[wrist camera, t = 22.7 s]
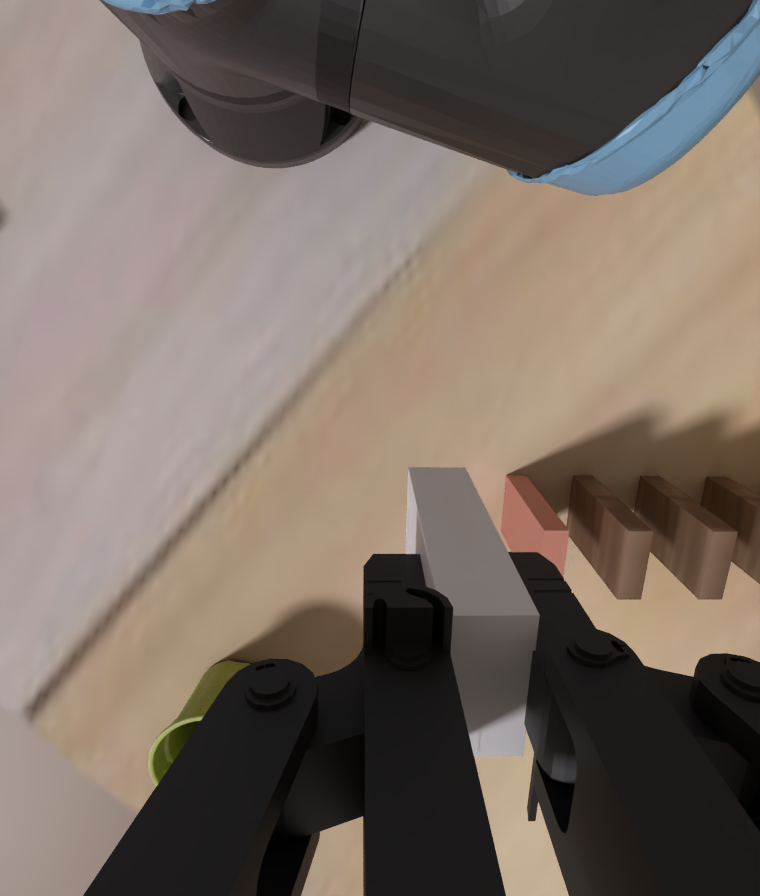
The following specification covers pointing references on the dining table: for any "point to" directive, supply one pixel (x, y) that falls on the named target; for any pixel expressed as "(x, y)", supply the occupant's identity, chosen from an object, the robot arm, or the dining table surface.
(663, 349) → the dining table surface
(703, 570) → the domino
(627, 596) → the domino
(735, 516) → the domino
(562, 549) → the domino
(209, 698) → the plant pot
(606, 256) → the dining table surface
